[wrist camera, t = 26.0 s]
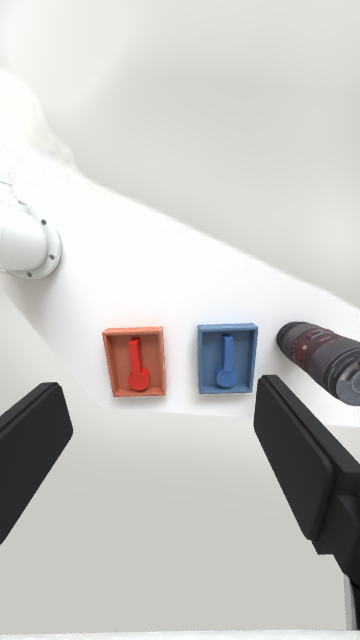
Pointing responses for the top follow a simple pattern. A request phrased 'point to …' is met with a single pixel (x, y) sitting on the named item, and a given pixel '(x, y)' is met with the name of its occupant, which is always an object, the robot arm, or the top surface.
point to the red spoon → (137, 367)
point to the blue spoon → (226, 363)
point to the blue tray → (213, 351)
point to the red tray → (121, 362)
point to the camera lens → (324, 358)
